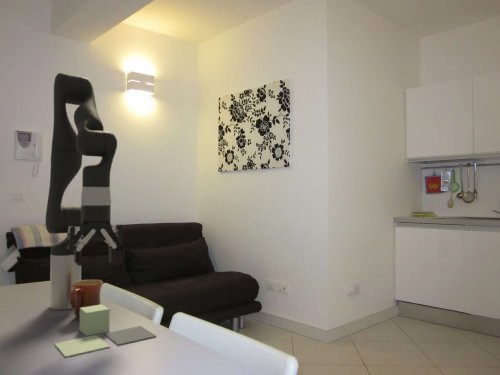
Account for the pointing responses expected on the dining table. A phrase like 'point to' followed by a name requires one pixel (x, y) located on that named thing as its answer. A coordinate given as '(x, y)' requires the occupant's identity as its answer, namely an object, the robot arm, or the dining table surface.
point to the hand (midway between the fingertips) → (95, 263)
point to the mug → (85, 294)
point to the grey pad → (129, 335)
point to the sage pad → (81, 346)
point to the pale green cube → (94, 319)
